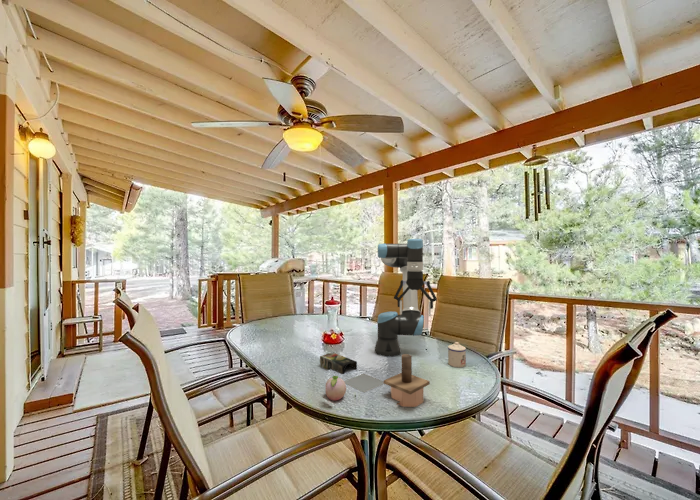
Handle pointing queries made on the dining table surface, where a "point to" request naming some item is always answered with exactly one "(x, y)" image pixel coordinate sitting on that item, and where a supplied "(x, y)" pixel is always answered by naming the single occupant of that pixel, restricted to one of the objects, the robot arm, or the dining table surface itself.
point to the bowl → (407, 397)
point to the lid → (406, 378)
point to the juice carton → (336, 362)
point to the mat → (364, 382)
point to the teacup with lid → (456, 355)
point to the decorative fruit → (335, 388)
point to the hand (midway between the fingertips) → (415, 314)
